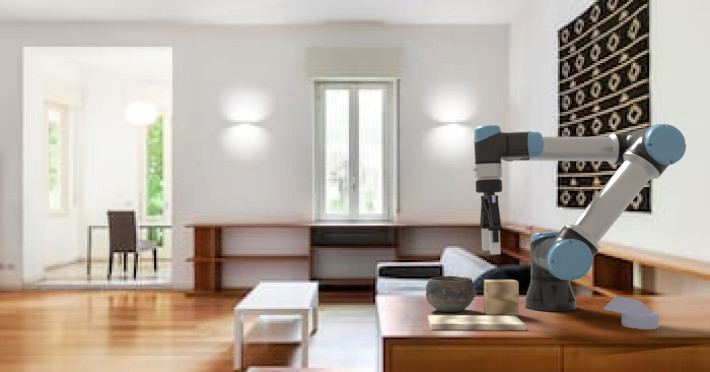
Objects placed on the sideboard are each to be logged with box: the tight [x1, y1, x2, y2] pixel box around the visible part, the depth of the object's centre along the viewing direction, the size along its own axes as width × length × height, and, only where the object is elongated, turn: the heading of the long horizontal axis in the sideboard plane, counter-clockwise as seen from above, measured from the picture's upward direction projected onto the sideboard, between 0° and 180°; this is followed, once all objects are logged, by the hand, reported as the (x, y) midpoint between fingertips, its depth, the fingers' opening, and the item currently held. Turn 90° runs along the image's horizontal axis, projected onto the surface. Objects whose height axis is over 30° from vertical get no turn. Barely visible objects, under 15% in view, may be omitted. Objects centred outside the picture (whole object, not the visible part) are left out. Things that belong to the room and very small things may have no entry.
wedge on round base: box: [603, 295, 660, 330], centre depth 168 cm, size 9×7×13 cm
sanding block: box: [483, 279, 520, 318], centre depth 181 cm, size 9×5×10 cm, turn 88°
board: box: [426, 314, 527, 331], centre depth 167 cm, size 24×12×2 cm, turn 88°
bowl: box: [425, 275, 478, 313], centre depth 188 cm, size 14×15×10 cm
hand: (491, 252), depth 182 cm, fingers open, 13 cm apart
